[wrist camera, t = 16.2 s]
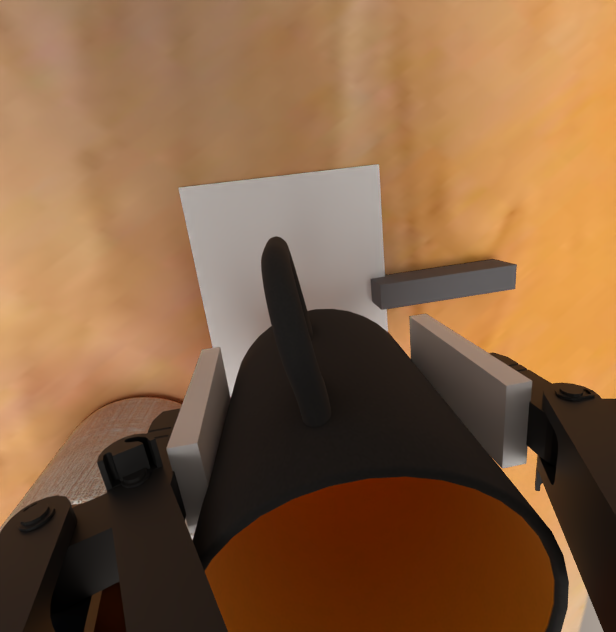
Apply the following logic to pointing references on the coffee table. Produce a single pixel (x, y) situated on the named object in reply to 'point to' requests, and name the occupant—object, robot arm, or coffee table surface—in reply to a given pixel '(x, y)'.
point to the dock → (442, 283)
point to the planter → (96, 475)
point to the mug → (362, 492)
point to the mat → (302, 239)
